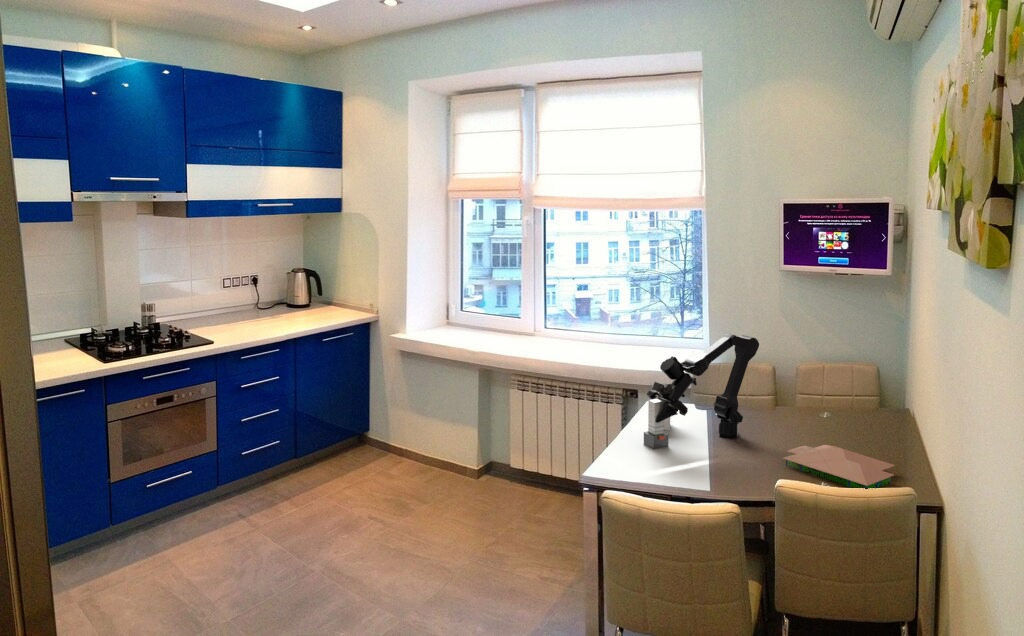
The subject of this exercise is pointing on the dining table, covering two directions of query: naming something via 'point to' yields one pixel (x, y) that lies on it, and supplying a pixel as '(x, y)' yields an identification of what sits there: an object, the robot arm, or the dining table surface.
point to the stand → (656, 440)
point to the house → (841, 464)
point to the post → (655, 417)
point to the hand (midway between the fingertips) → (653, 420)
